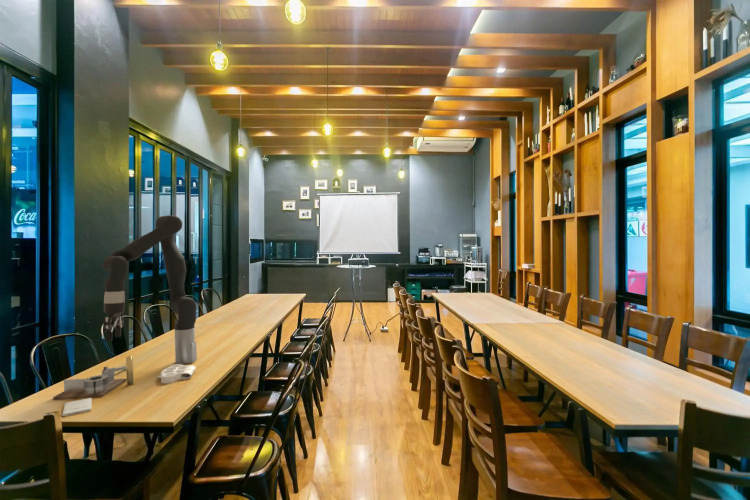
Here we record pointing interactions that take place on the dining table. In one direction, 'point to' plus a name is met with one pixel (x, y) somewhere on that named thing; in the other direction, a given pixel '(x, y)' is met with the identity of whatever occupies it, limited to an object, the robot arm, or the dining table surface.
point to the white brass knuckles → (176, 373)
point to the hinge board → (81, 394)
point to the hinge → (90, 383)
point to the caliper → (113, 368)
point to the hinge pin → (129, 370)
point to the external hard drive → (77, 407)
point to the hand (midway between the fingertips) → (113, 338)
